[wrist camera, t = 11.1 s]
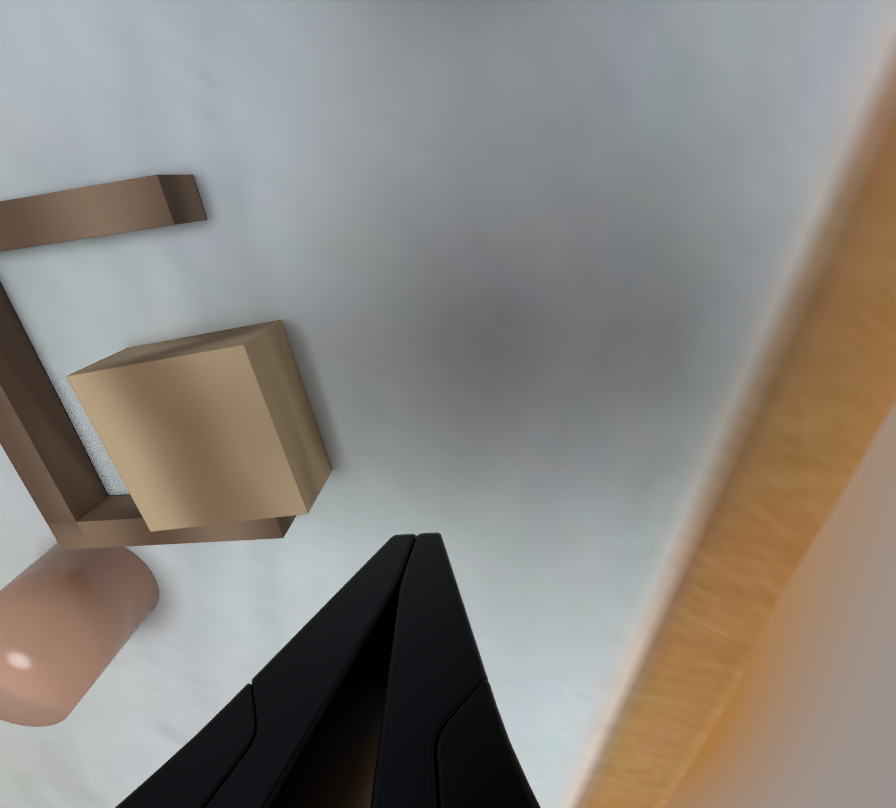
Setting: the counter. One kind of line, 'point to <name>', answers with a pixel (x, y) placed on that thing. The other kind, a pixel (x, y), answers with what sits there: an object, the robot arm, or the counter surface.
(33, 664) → the tan round cylinder
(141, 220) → the walnut bay
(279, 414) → the oak block
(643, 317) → the counter surface
